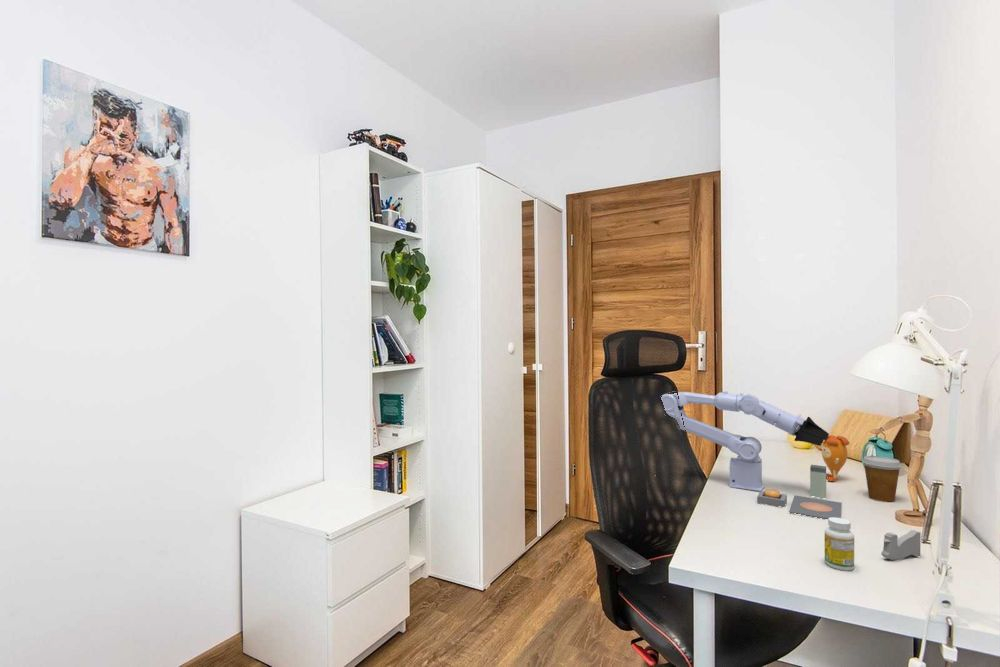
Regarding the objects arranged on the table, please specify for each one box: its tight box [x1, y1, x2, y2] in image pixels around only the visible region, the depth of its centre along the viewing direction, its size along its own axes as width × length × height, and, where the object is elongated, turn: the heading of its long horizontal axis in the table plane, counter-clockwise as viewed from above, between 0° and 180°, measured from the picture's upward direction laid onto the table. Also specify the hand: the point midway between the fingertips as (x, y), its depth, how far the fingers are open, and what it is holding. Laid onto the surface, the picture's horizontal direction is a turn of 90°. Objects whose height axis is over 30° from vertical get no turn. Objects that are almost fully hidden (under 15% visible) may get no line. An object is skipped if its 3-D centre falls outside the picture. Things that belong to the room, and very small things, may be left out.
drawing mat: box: [788, 494, 842, 520], centre depth 146 cm, size 12×18×1 cm, turn 146°
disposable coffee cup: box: [862, 455, 902, 503], centre depth 155 cm, size 10×10×12 cm
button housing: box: [756, 490, 788, 508], centre depth 151 cm, size 7×7×2 cm
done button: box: [764, 488, 781, 499], centre depth 151 cm, size 4×4×2 cm
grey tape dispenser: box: [880, 529, 921, 561], centre depth 113 cm, size 6×1×10 cm
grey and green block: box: [809, 464, 827, 499], centre depth 157 cm, size 4×4×9 cm
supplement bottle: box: [824, 517, 855, 571], centre depth 109 cm, size 5×5×10 cm
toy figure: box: [821, 434, 850, 482], centre depth 175 cm, size 12×8×15 cm, turn 159°
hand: (824, 440), depth 155 cm, fingers open, 7 cm apart
